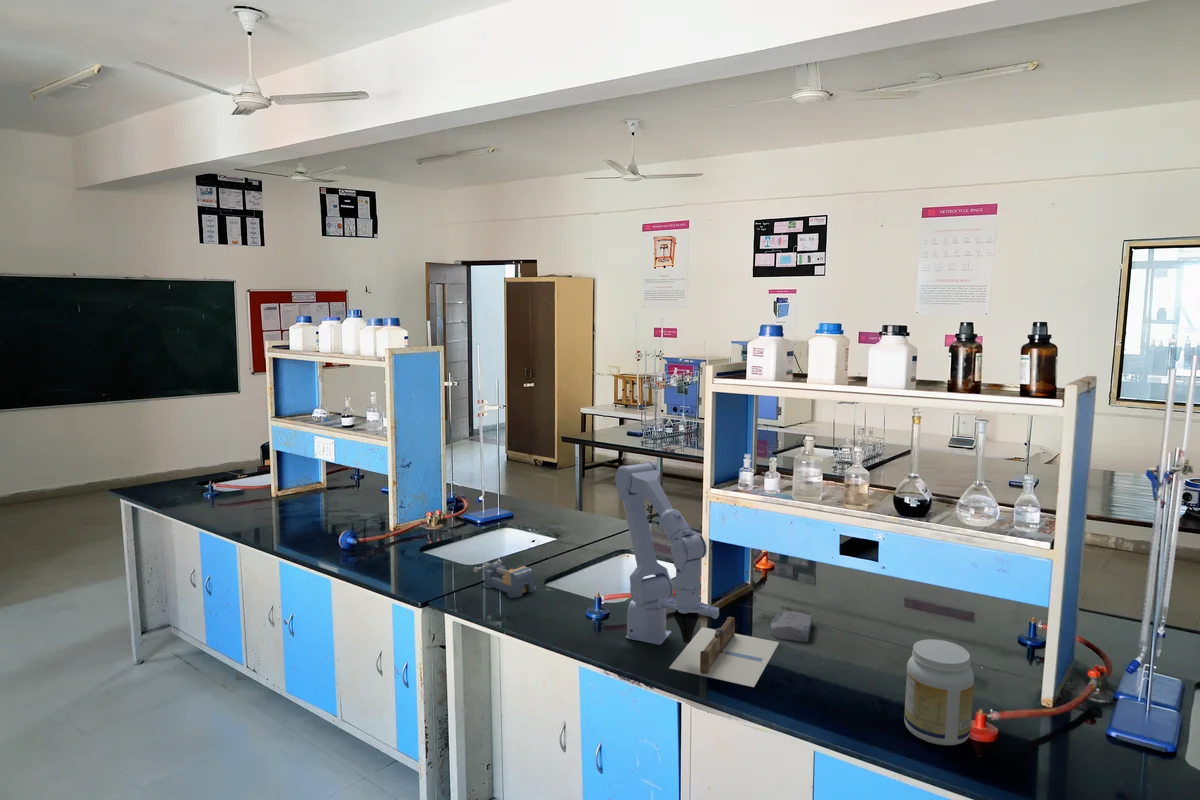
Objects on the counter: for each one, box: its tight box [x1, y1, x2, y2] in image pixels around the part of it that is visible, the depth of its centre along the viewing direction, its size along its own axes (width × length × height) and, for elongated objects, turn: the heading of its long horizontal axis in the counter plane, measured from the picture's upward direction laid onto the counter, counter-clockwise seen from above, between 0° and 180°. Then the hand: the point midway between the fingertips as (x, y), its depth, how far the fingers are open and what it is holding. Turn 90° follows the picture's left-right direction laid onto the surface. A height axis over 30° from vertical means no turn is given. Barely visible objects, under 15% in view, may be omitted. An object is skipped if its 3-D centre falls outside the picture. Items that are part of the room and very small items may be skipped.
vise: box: [472, 559, 537, 599], centre depth 229 cm, size 18×10×7 cm, turn 47°
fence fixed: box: [719, 616, 736, 653], centre depth 192 cm, size 2×12×5 cm, turn 154°
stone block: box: [770, 611, 813, 643], centre depth 199 cm, size 12×5×10 cm
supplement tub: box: [903, 638, 975, 746], centre depth 154 cm, size 12×12×17 cm
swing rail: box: [700, 627, 723, 673], centre depth 182 cm, size 13×2×5 cm, turn 154°
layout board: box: [668, 627, 780, 688], centre depth 186 cm, size 20×24×1 cm
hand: (687, 641), depth 183 cm, fingers closed
